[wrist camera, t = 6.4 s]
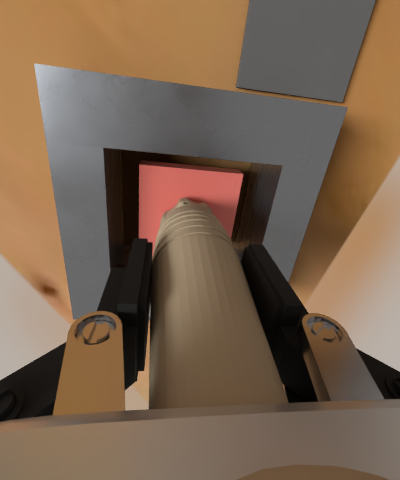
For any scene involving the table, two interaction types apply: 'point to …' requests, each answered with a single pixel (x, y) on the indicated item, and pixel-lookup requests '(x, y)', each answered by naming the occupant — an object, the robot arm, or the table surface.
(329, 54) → the mat
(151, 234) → the button
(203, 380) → the handle
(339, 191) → the table surface
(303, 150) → the grey shallow box
